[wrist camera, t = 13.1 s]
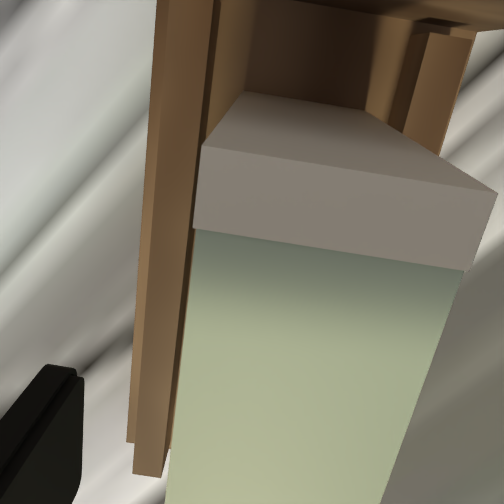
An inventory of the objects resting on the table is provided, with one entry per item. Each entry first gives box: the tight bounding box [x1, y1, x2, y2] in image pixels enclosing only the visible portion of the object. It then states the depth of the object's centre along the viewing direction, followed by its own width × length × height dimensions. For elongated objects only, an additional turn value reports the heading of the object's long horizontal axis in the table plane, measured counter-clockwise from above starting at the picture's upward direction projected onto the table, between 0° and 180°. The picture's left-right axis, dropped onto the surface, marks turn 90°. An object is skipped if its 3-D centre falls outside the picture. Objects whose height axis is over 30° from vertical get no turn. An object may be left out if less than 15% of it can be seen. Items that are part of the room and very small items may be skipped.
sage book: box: [165, 91, 498, 504], centre depth 13 cm, size 4×12×10 cm, turn 171°
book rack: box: [126, 0, 504, 478], centre depth 15 cm, size 10×20×10 cm, turn 171°
